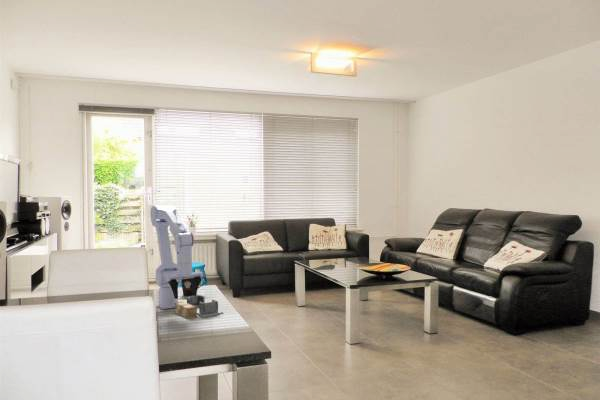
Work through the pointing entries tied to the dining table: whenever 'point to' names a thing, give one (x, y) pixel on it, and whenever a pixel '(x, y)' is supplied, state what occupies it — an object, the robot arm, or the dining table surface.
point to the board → (208, 314)
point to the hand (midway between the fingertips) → (185, 297)
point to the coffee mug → (188, 286)
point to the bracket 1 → (195, 300)
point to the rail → (186, 309)
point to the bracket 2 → (208, 307)
